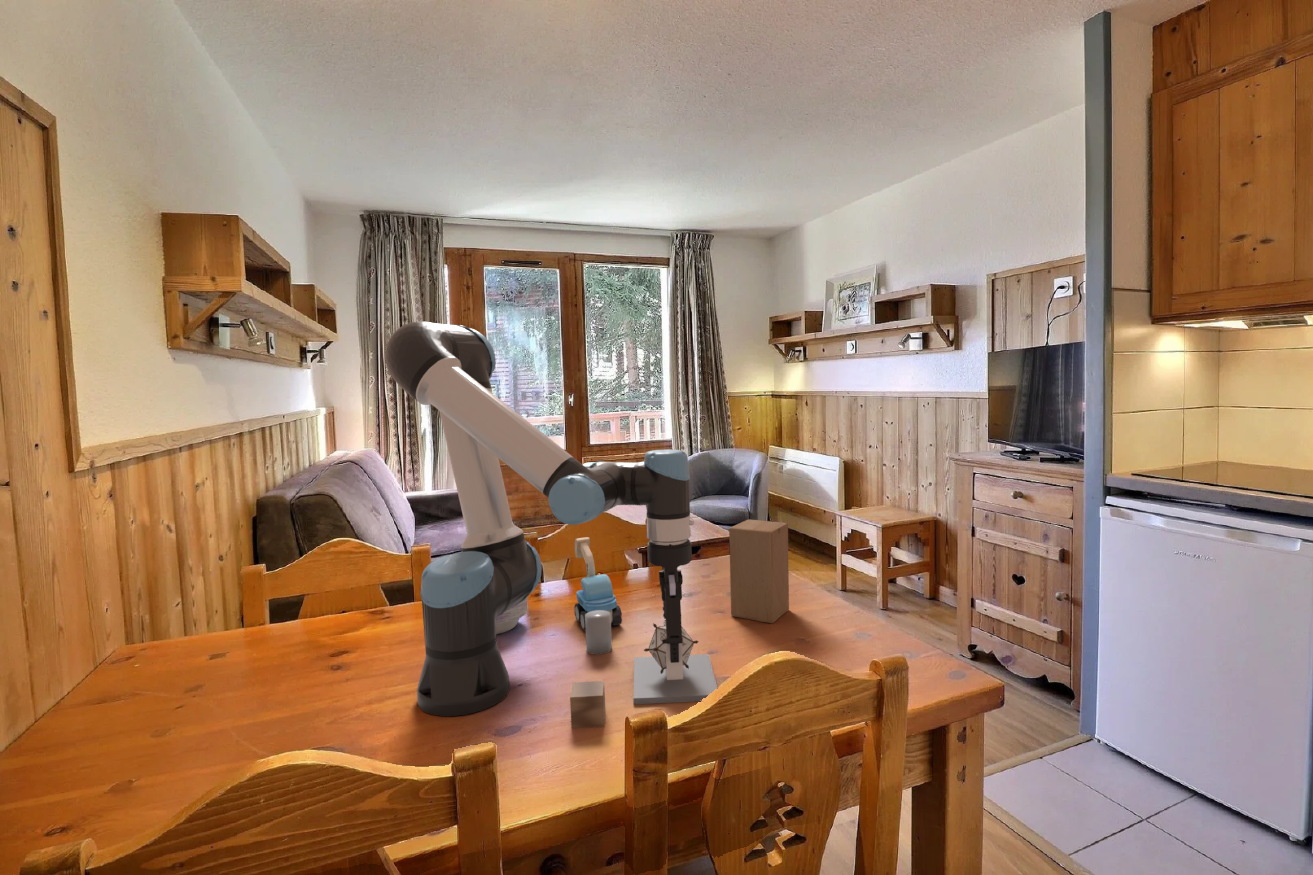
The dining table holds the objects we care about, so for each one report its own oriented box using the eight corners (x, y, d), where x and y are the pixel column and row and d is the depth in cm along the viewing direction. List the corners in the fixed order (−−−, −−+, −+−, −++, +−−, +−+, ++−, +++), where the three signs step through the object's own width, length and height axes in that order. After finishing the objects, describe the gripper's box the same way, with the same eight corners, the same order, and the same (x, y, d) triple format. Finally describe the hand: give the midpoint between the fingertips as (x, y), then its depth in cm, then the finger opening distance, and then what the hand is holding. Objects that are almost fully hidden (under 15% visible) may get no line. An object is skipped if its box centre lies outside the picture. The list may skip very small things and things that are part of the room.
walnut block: (571, 728, 100) (570, 697, 100) (574, 712, 105) (572, 682, 105) (604, 726, 100) (602, 695, 100) (605, 710, 105) (604, 680, 105)
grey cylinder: (585, 654, 127) (584, 619, 127) (587, 644, 132) (586, 610, 132) (611, 653, 127) (609, 618, 127) (612, 643, 132) (611, 609, 132)
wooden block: (789, 609, 148) (788, 522, 146) (772, 624, 140) (771, 532, 138) (749, 602, 153) (747, 518, 152) (730, 616, 145) (728, 527, 143)
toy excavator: (603, 604, 156) (600, 533, 154) (624, 628, 140) (621, 549, 139) (567, 609, 153) (564, 537, 151) (585, 634, 137) (582, 554, 136)
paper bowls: (490, 611, 153) (488, 578, 153) (542, 620, 146) (540, 586, 146) (441, 634, 140) (438, 598, 139) (495, 646, 133) (493, 608, 132)
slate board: (633, 704, 107) (633, 698, 107) (634, 662, 123) (634, 657, 123) (719, 700, 107) (719, 694, 107) (708, 659, 123) (708, 653, 123)
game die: (680, 692, 114) (693, 660, 107) (635, 673, 115) (645, 640, 108) (694, 650, 121) (707, 618, 114) (650, 633, 122) (661, 600, 115)
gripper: (696, 555, 102) (700, 694, 104) (686, 525, 124) (690, 641, 126) (648, 557, 102) (653, 696, 104) (646, 526, 124) (650, 642, 126)
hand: (673, 666), depth 115 cm, fingers closed on game die, 9 cm apart
